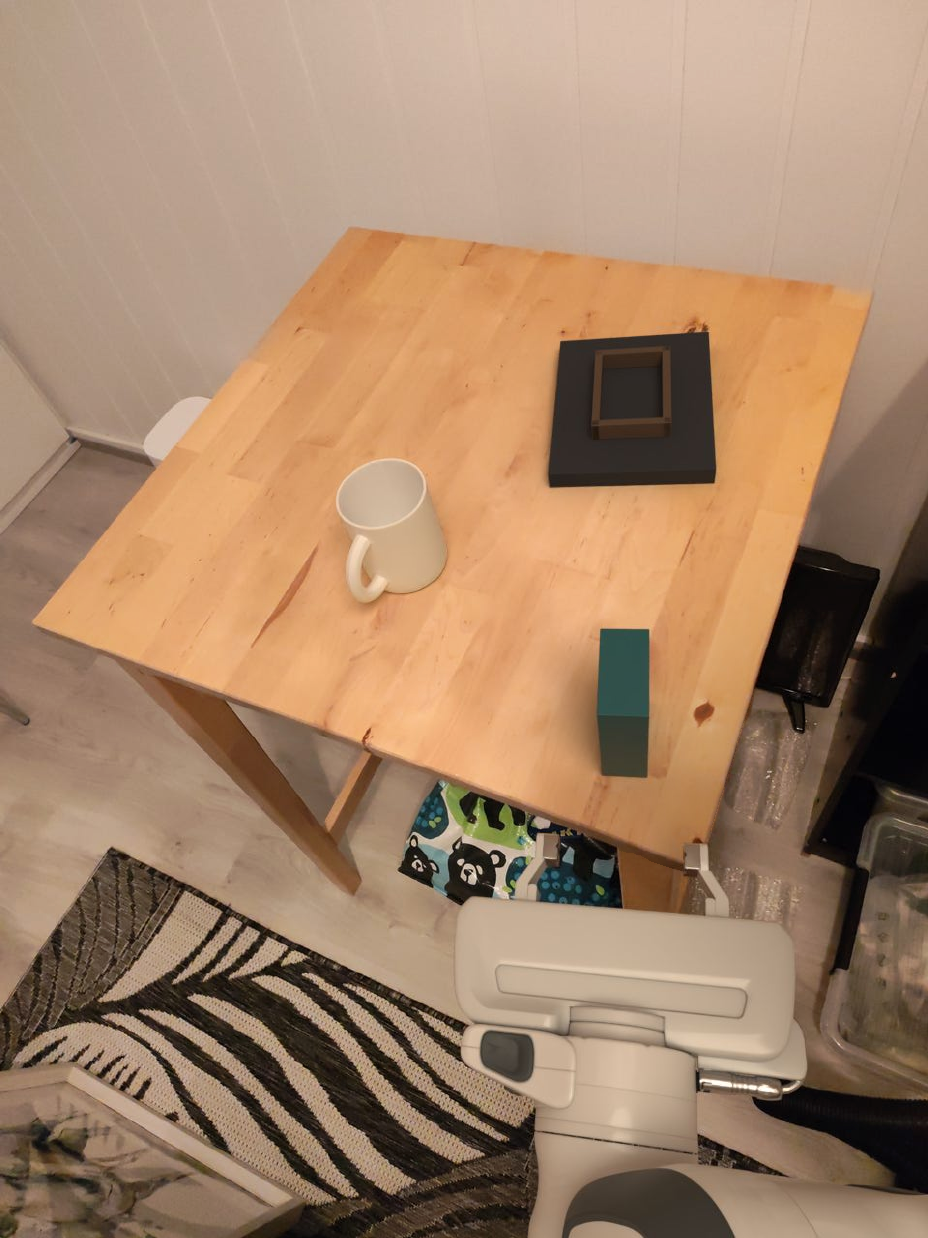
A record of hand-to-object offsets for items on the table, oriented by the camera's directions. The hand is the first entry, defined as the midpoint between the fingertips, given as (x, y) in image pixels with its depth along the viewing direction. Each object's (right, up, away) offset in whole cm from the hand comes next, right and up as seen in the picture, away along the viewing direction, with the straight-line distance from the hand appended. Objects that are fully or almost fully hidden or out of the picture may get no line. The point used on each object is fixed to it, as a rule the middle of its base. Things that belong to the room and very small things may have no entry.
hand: (620, 840), depth 53 cm
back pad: (+3, +5, +13) cm, 14 cm away
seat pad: (+7, +36, +32) cm, 49 cm away
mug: (-17, +19, +26) cm, 36 cm away
